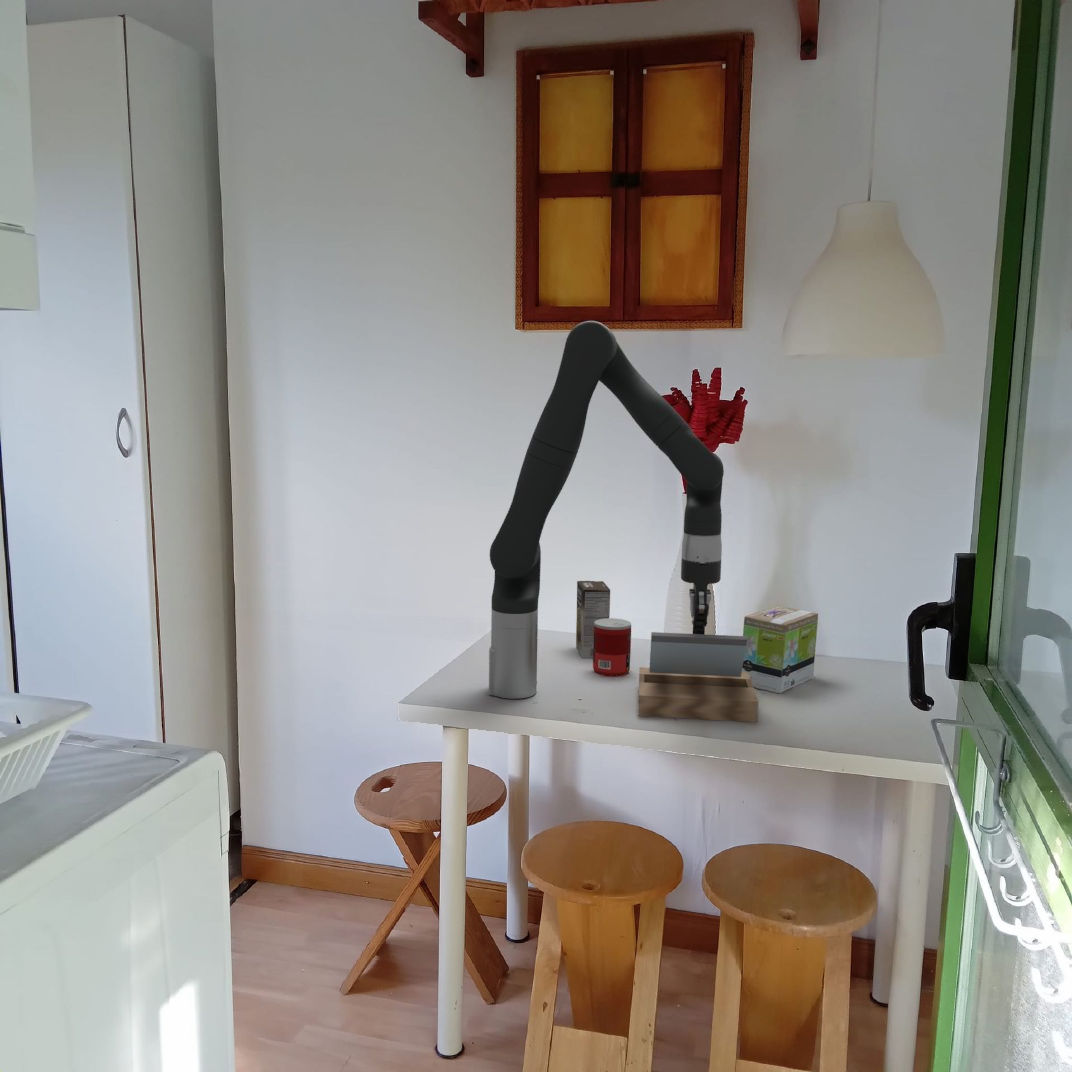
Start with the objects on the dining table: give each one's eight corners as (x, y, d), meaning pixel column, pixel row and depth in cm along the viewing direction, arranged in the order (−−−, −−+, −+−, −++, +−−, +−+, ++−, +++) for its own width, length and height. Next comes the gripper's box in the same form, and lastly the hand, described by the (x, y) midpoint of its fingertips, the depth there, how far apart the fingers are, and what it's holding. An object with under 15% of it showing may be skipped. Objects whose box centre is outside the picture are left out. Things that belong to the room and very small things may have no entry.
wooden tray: (638, 715, 183) (638, 695, 183) (638, 686, 201) (639, 667, 200) (757, 722, 181) (758, 701, 180) (747, 691, 199) (748, 672, 198)
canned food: (634, 676, 208) (636, 626, 206) (598, 678, 206) (600, 627, 204) (623, 665, 215) (624, 617, 213) (588, 667, 213) (589, 618, 212)
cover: (651, 635, 186) (651, 632, 186) (649, 672, 195) (649, 669, 196) (747, 639, 184) (747, 636, 184) (740, 676, 193) (740, 673, 194)
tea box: (782, 695, 197) (786, 624, 195) (738, 684, 203) (741, 615, 201) (814, 678, 208) (819, 611, 206) (772, 669, 215) (775, 603, 212)
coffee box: (574, 647, 229) (576, 580, 226) (601, 647, 230) (603, 580, 227) (580, 658, 220) (582, 588, 217) (608, 658, 221) (611, 588, 218)
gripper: (680, 549, 193) (677, 634, 196) (683, 562, 180) (679, 653, 183) (718, 550, 192) (715, 636, 195) (724, 563, 179) (720, 654, 182)
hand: (698, 644), depth 189 cm, fingers closed
